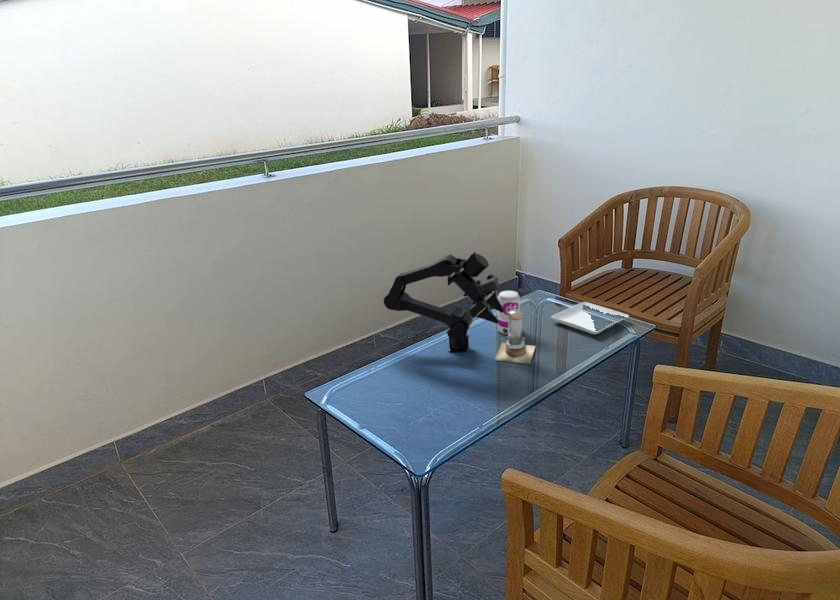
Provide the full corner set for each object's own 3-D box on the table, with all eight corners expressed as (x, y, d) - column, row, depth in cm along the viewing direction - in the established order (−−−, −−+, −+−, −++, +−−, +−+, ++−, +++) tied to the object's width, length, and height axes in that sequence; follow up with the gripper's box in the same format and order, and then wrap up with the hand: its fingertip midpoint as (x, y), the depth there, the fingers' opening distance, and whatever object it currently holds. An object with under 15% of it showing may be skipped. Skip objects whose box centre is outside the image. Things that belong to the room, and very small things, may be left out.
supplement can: (521, 334, 222) (521, 297, 217) (498, 335, 223) (498, 298, 217) (518, 325, 230) (518, 289, 224) (496, 326, 230) (496, 290, 224)
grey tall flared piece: (503, 349, 206) (503, 314, 201) (507, 341, 211) (507, 307, 206) (523, 351, 203) (523, 316, 199) (526, 342, 209) (526, 308, 204)
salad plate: (583, 308, 242) (583, 300, 241) (630, 322, 227) (630, 314, 225) (549, 324, 230) (549, 315, 229) (596, 340, 215) (596, 332, 213)
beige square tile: (494, 360, 205) (494, 352, 204) (502, 344, 216) (501, 337, 214) (530, 363, 201) (530, 355, 200) (535, 347, 212) (535, 340, 211)
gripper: (477, 279, 192) (512, 313, 193) (490, 261, 208) (522, 292, 209) (455, 301, 198) (488, 333, 198) (469, 281, 214) (500, 311, 215)
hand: (500, 317), depth 205 cm, fingers open, 9 cm apart
